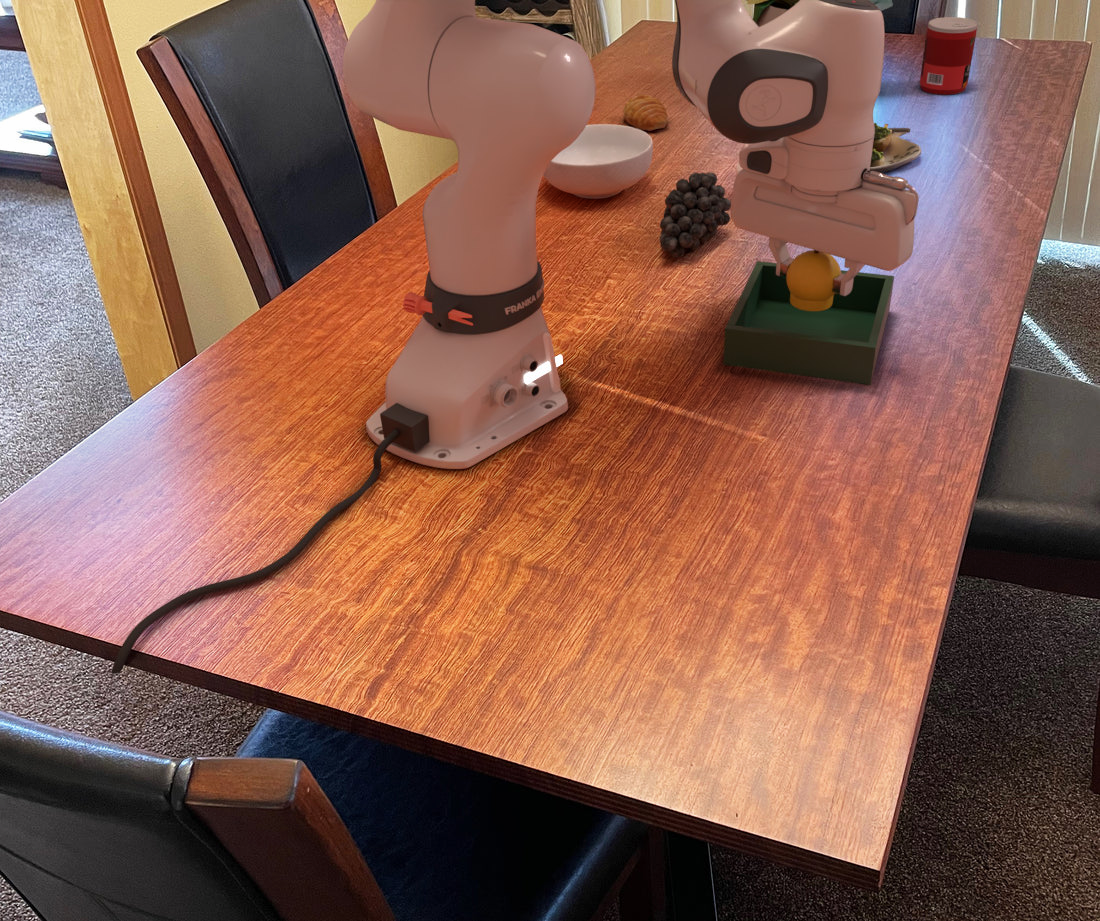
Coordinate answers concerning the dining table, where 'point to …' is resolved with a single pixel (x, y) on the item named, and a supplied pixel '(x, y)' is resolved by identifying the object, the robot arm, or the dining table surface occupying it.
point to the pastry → (645, 113)
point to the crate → (808, 329)
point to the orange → (812, 280)
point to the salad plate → (891, 149)
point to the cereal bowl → (601, 161)
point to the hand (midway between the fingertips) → (812, 284)
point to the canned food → (947, 55)
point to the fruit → (693, 213)
